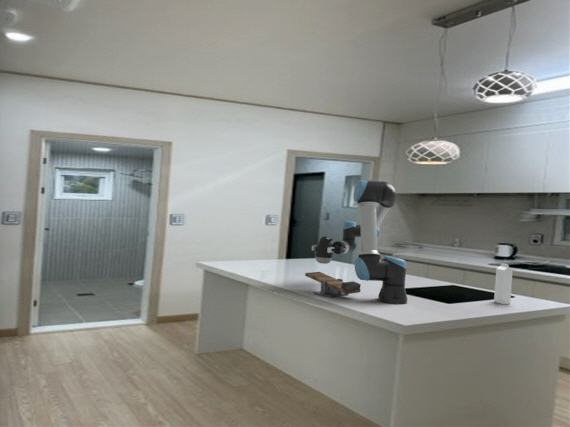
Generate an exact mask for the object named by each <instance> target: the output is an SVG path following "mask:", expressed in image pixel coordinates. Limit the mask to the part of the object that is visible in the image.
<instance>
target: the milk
mask: <svg viewBox="0 0 570 427" xmlns="http://www.w3.org/2000/svg"><path fill="white" fill-rule="evenodd" d="M513 272H514V271H513V269H512V268H510V265H509V264H508V263H503V262H501V263H500V265H499V266H498V267H496V269H495V281H494V282H495V284H494V296H493V297H494V298H493V302H494V303H498V304H500V305H511V298H512V287H513V286H512V283H513V274H514V273H513Z"/></svg>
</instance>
